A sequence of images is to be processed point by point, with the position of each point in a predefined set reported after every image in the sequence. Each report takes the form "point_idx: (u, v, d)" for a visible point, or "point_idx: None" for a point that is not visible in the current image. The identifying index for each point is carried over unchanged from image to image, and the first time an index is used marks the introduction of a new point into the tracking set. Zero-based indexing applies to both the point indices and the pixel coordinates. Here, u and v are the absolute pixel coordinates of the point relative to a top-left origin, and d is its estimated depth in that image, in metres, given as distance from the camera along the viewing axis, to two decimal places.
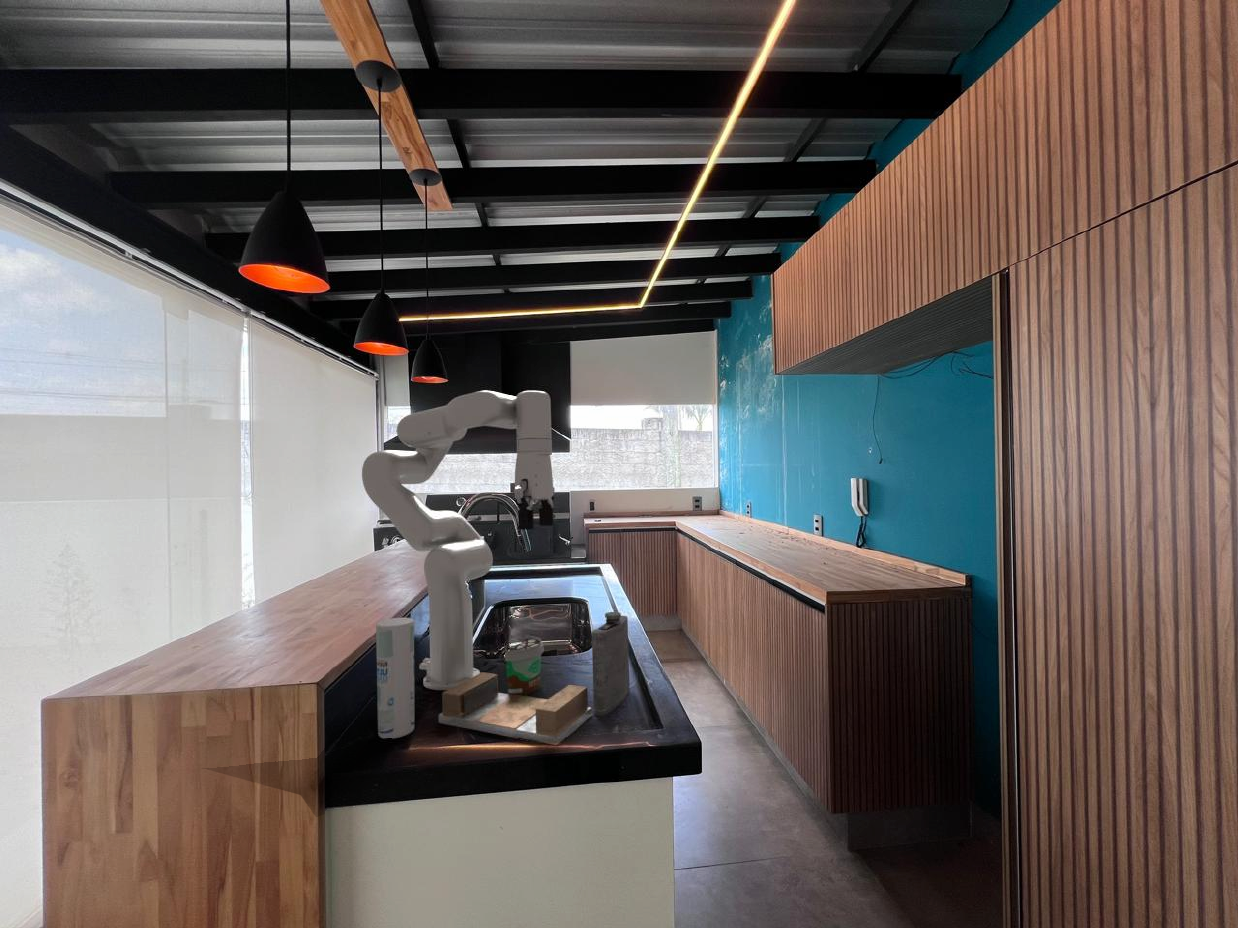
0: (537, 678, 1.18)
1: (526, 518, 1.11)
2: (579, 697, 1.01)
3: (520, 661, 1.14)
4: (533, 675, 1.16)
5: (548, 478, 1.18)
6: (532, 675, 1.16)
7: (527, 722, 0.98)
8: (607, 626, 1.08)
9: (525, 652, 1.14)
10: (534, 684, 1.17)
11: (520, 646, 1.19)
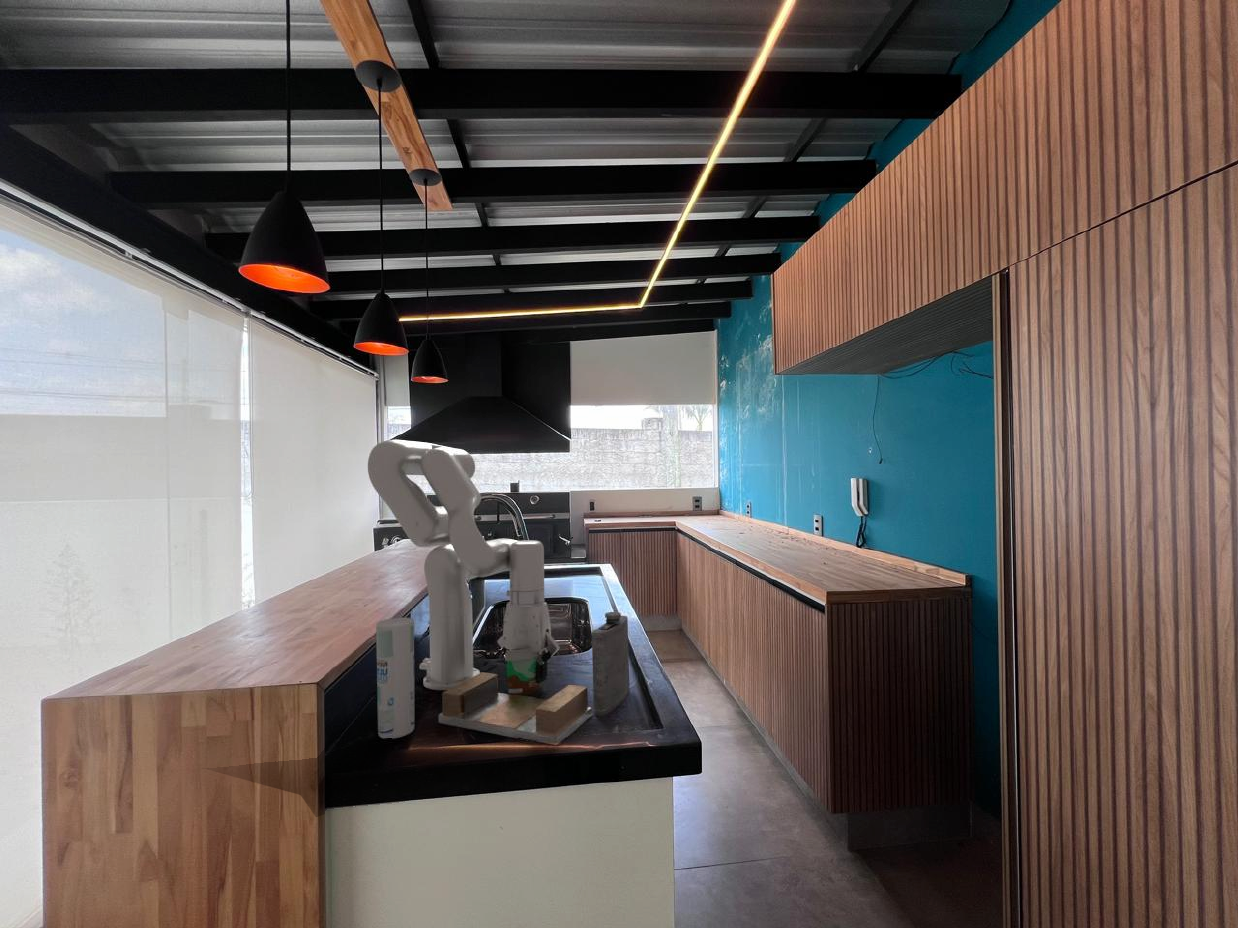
0: None
1: (546, 670, 1.17)
2: (579, 697, 1.01)
3: (520, 661, 1.14)
4: (533, 675, 1.16)
5: None
6: (532, 675, 1.16)
7: (527, 722, 0.98)
8: (607, 626, 1.08)
9: (525, 652, 1.14)
10: (534, 684, 1.17)
11: None
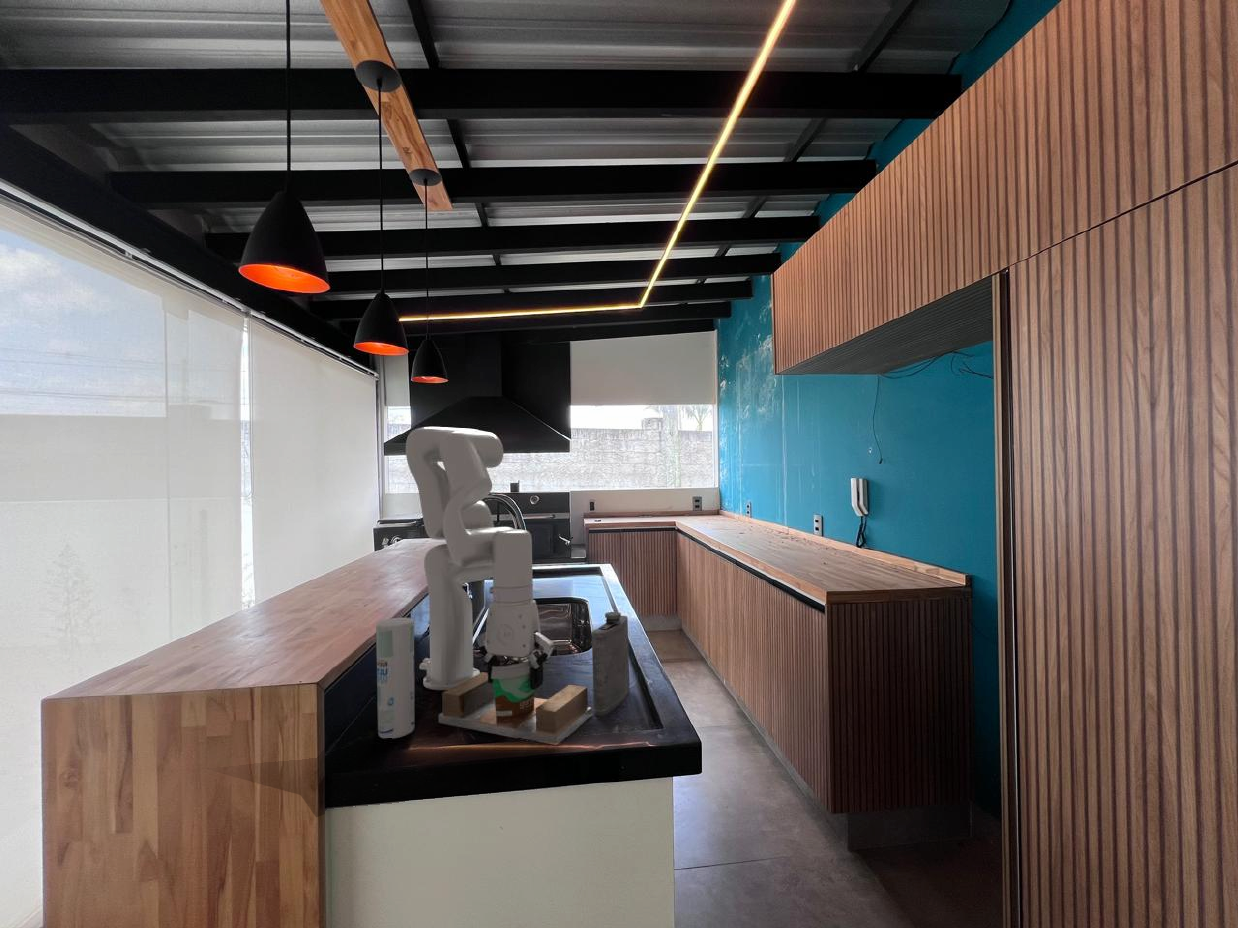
0: (530, 698, 1.02)
1: (542, 674, 1.02)
2: (579, 697, 1.01)
3: (509, 679, 0.99)
4: (525, 694, 1.01)
5: None
6: (524, 695, 1.00)
7: (527, 722, 0.98)
8: (607, 626, 1.08)
9: (515, 669, 0.99)
10: (527, 705, 1.01)
11: (511, 661, 1.03)
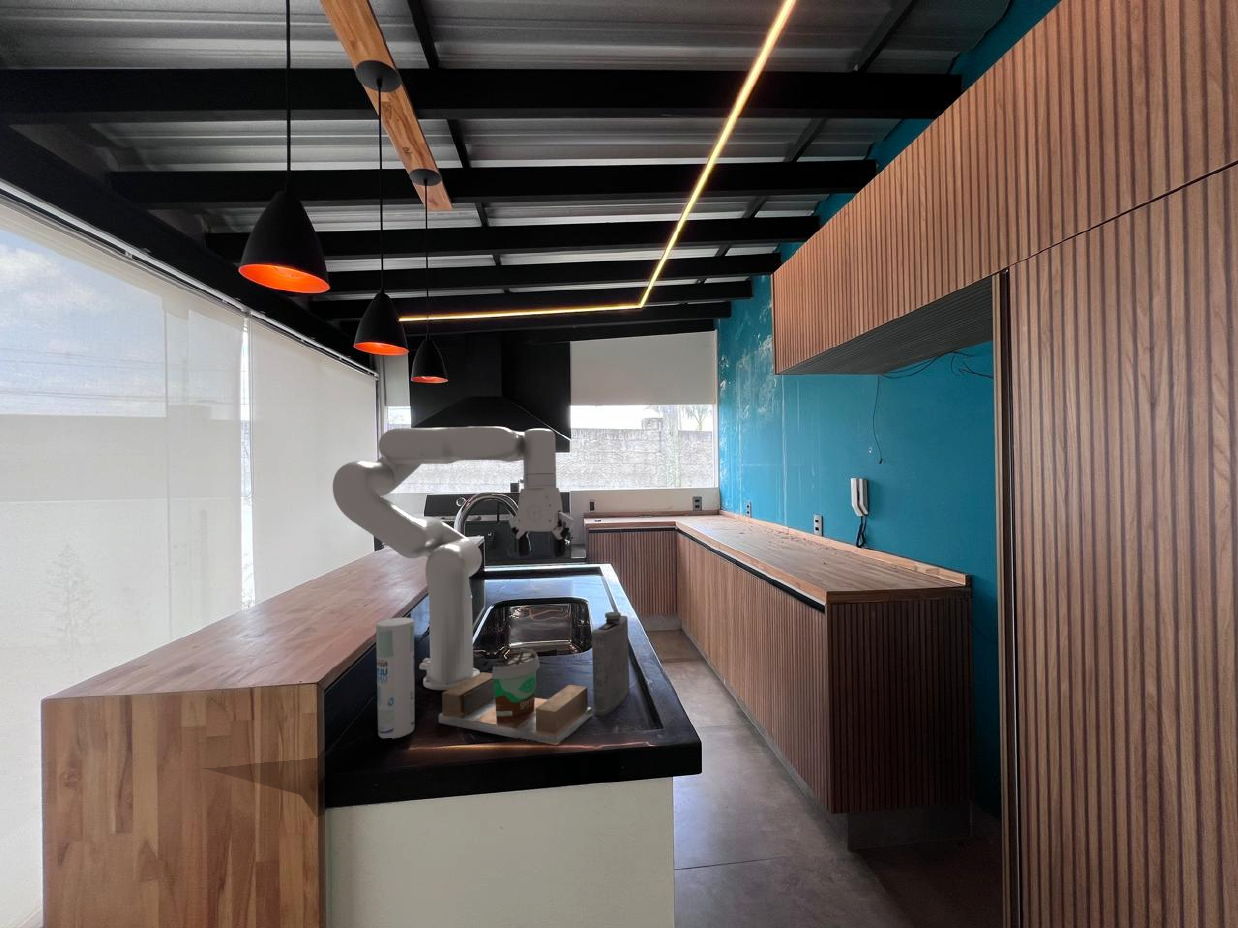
0: (531, 699, 1.02)
1: (564, 546, 1.23)
2: (579, 697, 1.01)
3: (510, 679, 0.99)
4: (525, 695, 1.01)
5: None
6: (524, 695, 1.00)
7: (527, 722, 0.98)
8: (607, 626, 1.08)
9: (515, 669, 0.99)
10: (527, 706, 1.01)
11: (511, 661, 1.03)
